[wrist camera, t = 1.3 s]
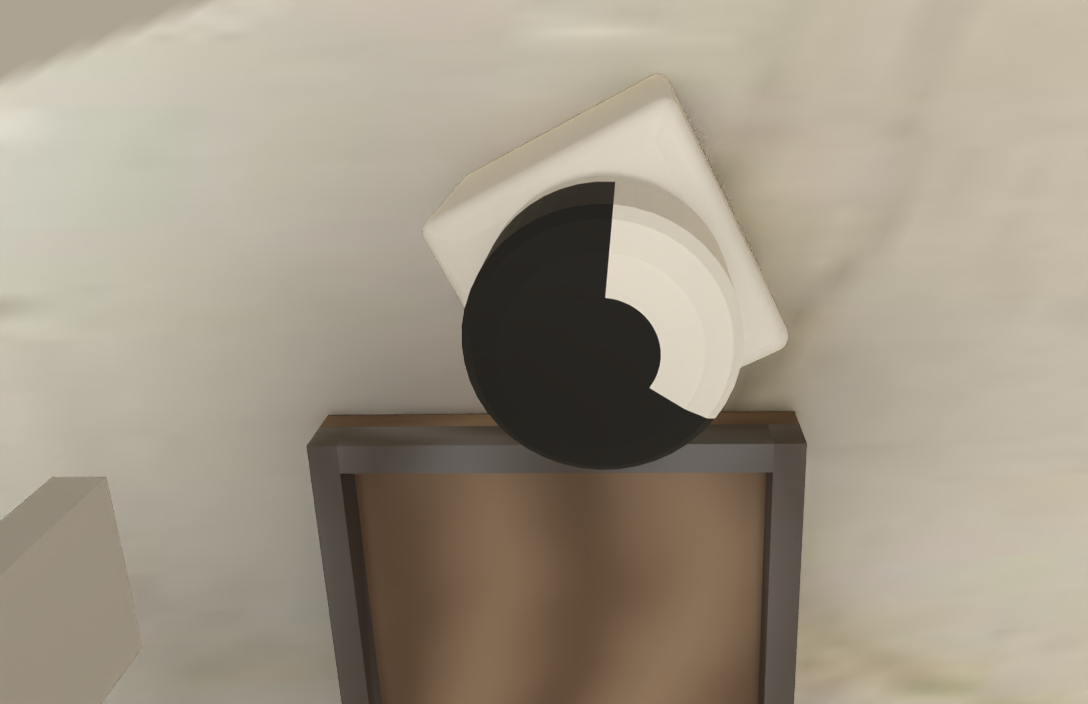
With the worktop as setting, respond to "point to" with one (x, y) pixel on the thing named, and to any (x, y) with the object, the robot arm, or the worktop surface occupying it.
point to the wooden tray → (559, 565)
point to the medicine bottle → (604, 285)
